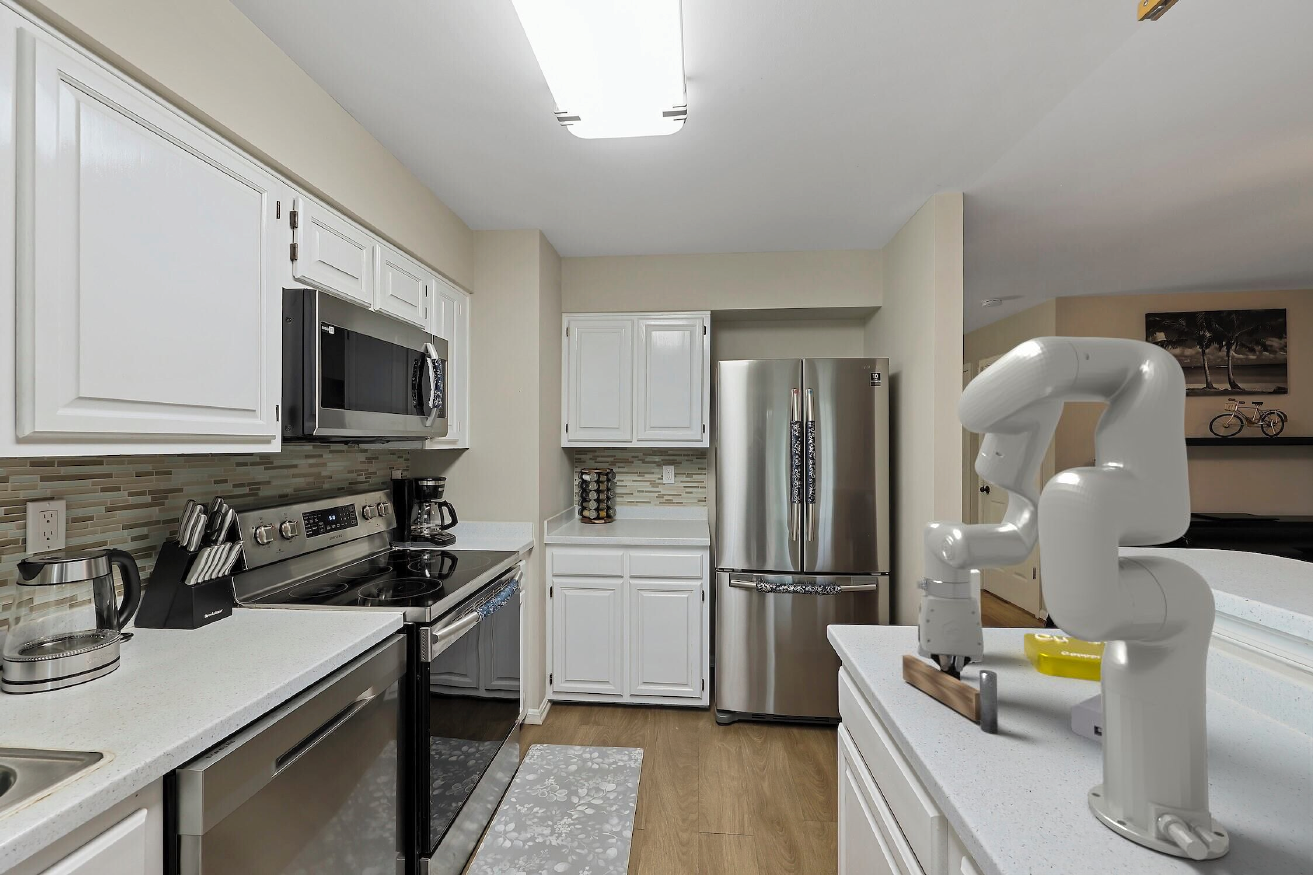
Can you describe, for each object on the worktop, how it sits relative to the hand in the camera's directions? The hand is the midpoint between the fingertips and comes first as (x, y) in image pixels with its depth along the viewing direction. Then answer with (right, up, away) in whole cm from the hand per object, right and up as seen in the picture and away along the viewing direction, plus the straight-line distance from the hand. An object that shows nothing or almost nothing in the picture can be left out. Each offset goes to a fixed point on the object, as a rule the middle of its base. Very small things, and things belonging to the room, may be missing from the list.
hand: (950, 690), depth 103 cm
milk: (+11, -2, +19) cm, 22 cm away
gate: (-3, 0, -2) cm, 4 cm away
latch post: (+4, -1, +9) cm, 10 cm away
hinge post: (0, -1, -13) cm, 13 cm away
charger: (+21, -1, -14) cm, 25 cm away
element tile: (+32, -2, +14) cm, 35 cm away
